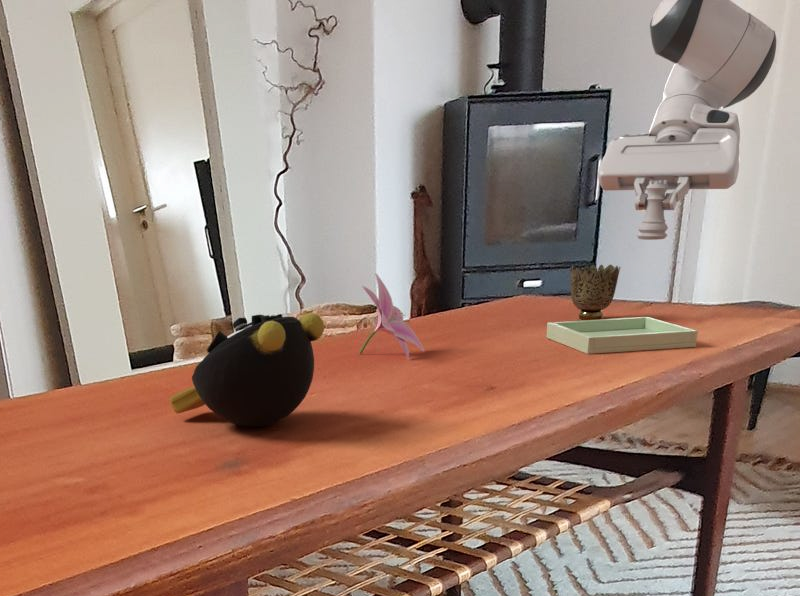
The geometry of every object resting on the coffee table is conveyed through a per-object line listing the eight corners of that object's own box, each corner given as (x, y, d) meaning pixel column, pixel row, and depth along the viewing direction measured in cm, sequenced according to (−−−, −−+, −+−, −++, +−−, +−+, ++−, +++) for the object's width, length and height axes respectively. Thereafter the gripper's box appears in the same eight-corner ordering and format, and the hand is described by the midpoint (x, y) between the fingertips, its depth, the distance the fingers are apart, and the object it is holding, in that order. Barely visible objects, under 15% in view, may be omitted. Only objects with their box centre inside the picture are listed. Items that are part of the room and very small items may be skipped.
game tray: (646, 331, 142) (647, 316, 141) (695, 347, 130) (698, 330, 129) (546, 337, 139) (547, 322, 138) (587, 354, 127) (588, 337, 126)
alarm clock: (263, 439, 107) (318, 308, 102) (288, 480, 95) (351, 334, 89) (163, 400, 103) (214, 262, 98) (174, 438, 90) (234, 282, 85)
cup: (563, 316, 156) (567, 264, 153) (610, 316, 156) (615, 263, 152) (569, 324, 150) (573, 269, 146) (618, 323, 149) (623, 268, 145)
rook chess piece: (631, 239, 147) (637, 181, 143) (644, 237, 150) (651, 180, 146) (658, 240, 144) (665, 180, 141) (672, 237, 147) (679, 179, 143)
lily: (370, 374, 124) (408, 306, 120) (313, 329, 129) (348, 262, 125) (421, 388, 133) (458, 325, 129) (366, 345, 139) (400, 283, 134)
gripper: (608, 120, 150) (582, 192, 147) (749, 113, 140) (724, 190, 137) (614, 152, 155) (589, 222, 152) (749, 147, 145) (725, 222, 142)
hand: (654, 207), depth 144 cm, fingers closed on rook chess piece, 3 cm apart
